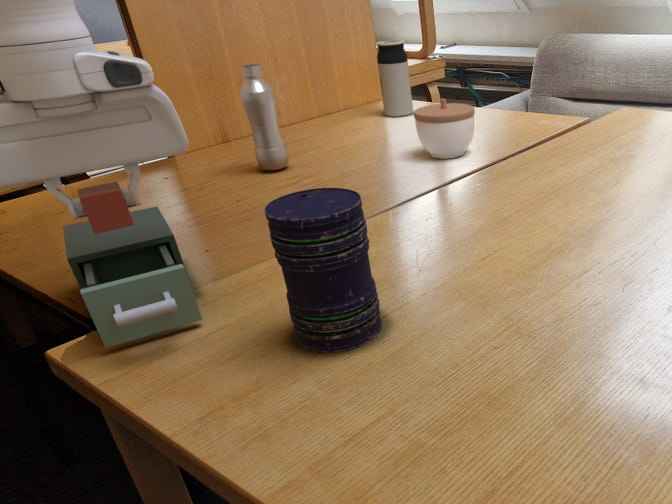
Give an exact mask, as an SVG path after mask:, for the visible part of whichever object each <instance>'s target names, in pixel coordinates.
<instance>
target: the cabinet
mask: <svg viewBox="0 0 672 504" xmlns="http://www.w3.org/2000/svg"><path fill="white" fill-rule="evenodd" d="M129 212H130V215H131V217H132V220H133V222H134V225H133V226H129V227H124V228H120V229H115V230H111V231H107V232H102V233H98V234H94V231H93V229H92V227H91V224H90V222H89V220H86V221H81V222H77V223H71V224H66V225H63V226H62V230H63V239H64V245H65V253H66V255H65V256H66V260H67V262H68V265H69V268H70V270H71V272H72V274H73V276H74V278H75V280H76V283H77V284H78V286H79V289H80V290H81V289H84V288H88V286H87V281H86V276H85V271H84V265H83V262H86V261H90V260H94V259H98V258H103V257H107V256H111V255H115V254H120V253H124V252H128V251H132V250H136V249H141V248H145V247H149V246H153V245H158V244H162V243H164V244H165V246H166V248H167V250H168V252H169V254H170V256H171V258H172V260H173V261H174V263H175V265H179V264H183V266H184V268H185V271H186V274H187V277H188V279H189V282H190V285H191V288H192V291H193V294H194V297H195V298H196V295H195V292H194V289H193V287H192V284H191V281H190V278H189V276H188V272H187V269H186V266H185V263H184V260H183V257H182V254H181V252H180V249H179V246H178V244H177V240H176V237H175V235H174V233H173V231H172V229H171V228H170V226H169V224H168V223H167V221H166V219H165V217H164V216H163V215H164V214H162V212H161V210H160V209H159V207H158V205H157V206H151V207H146V208H141V209H138V210H132V211H129Z"/></svg>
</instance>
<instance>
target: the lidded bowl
mask: <svg viewBox="0 0 672 504" xmlns="http://www.w3.org/2000/svg"><path fill="white" fill-rule="evenodd" d="M439 102H440V103H437V104H430V105H425V106H422V107H417V109H415V110H413V118H414V122H415V130H416V134H417V137H418V140H419V143H420V145H421V146H422V147H423V149H424V150H426V152H427V153H429V154H430V156H431V157H432V158H434V159H440V160H441V159H444V160H445V159H454V158H459V157H462V156H463V155H465V151H466V150H468V148H469V147H470V145H471V144H472V141H473V138H474V133H475V107H474V106H473V105H471V104H467V103H459V102H455V103H454V102H453V103H452V102H450V103H447V99H446V98H441V99H439Z"/></svg>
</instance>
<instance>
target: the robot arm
mask: <svg viewBox="0 0 672 504" xmlns="http://www.w3.org/2000/svg"><path fill="white" fill-rule="evenodd" d="M92 38H93V37H92V36H91V33H90V30H89V28H88V27H87V25H86V24H85V23H84V21H83V20H82V18H81V17H80V14H79V12H78V10H77V7H76V5H75V1H74V0H0V189H3V188H7V187H13V186H20V185H26V184H31V183H35V182H40V181H42V183H43V184H44V187H45V189H46V191H47V192H48V193H49V194H51V195H52V196H53V197H55V198H56V199H57V200H59V201H60V202H61V203H62V204H64V205H66V207H67V210H68V212H69V214H70V217H71V218H72V220H77V219H81V218H85V217H87V215H86V213H85V210H84V208H83V206H82V203H81V201H80V199H79V197H75V198H72V197H71V196H70V195H69V194H68V193H66V192H65V191H64V190H63V189H62V188H63V185H62V180H61V178H62V177H67V176H74V175H78V174H84V173H89V172H95V171H101V170H107V169H111V168H112V169H113V168H117V167H123V169H124V171H125V173H126V175H127V176H129V178H128V183H127V187H123V188H120V189H121V191H122V194H123V196H124V199H125V202H126V204H127V207H128V209H129V208H134V207H138V206H142V203H141V200H140V198H139V197H140V196H139V195H138V192H137V191H138V187H139V183H140V179H141V176H142V172H141V169H140V166H139V163H143V162H149V161H154V160H155V161H156V160H160V159H167V158H170V157H177V156H181V155H184V154H185V153H186V152H187V150H188V148H189V145H190V143H189V140H188V139H189V138H188V136H187V133H186V131H185V129H184V126H183V123H182V121H181V118H180V116H179V114H178V112H177V110H176V108H175V106H174V104H173V102H172V101H171V99H170V97H169V96H168V95H167V94H166V93H165V92H164V91H163V90H162V89H160V87H158V86H157V85H155V84H153V83H155V82H154V81H155V75H154V71H153V68H152V66H151V65H150V63H149V62H147V61H146V60H145V59H143V58H139V57H136V56H131V55H125V54H120V53H118V52H116V51H110V50H108V51H102V50H98V49H97V47H95V44H94V42H93V39H92Z"/></svg>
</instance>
